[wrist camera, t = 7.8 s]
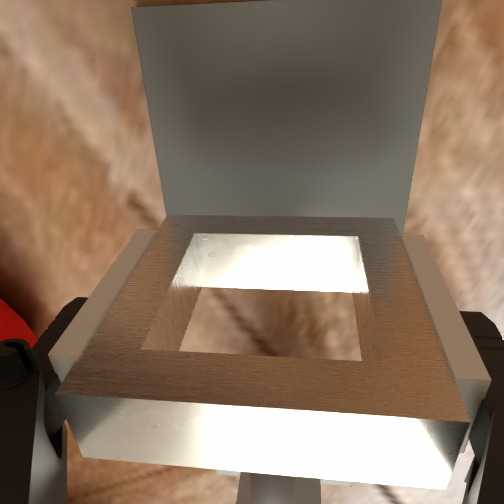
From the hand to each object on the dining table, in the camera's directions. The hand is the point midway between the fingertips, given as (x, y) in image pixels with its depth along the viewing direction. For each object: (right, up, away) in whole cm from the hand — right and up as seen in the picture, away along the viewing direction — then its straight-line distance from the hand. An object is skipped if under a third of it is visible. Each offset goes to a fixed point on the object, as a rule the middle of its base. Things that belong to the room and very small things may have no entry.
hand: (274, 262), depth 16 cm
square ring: (0, +1, +1) cm, 1 cm away
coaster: (+1, +5, +4) cm, 7 cm away
